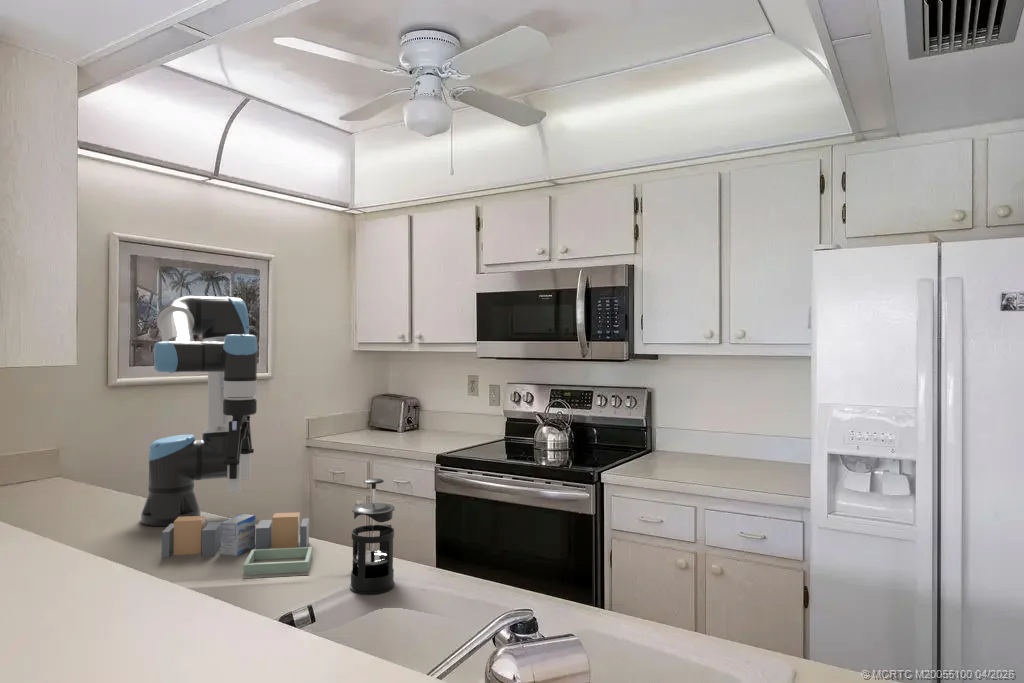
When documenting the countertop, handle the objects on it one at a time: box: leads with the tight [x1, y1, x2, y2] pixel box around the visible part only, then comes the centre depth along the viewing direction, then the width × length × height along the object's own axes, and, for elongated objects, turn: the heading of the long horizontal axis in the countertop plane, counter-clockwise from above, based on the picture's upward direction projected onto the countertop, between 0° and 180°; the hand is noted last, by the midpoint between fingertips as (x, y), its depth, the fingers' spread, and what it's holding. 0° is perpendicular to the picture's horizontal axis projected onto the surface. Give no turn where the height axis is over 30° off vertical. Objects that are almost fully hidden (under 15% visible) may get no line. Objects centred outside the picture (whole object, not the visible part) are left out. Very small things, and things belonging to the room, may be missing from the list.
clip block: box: [161, 517, 310, 559], centre depth 165 cm, size 7×32×7 cm, turn 102°
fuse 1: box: [174, 515, 206, 555], centre depth 162 cm, size 4×6×8 cm, turn 102°
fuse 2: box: [271, 511, 301, 549], centre depth 167 cm, size 4×6×8 cm, turn 102°
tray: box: [242, 546, 313, 580], centre depth 155 cm, size 11×14×3 cm
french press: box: [349, 478, 396, 596], centre depth 146 cm, size 12×9×23 cm
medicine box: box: [220, 513, 257, 557], centre depth 165 cm, size 8×4×9 cm, turn 168°
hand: (239, 486), depth 164 cm, fingers open, 13 cm apart
